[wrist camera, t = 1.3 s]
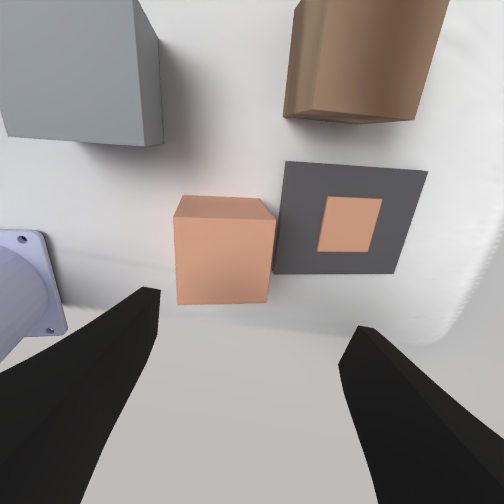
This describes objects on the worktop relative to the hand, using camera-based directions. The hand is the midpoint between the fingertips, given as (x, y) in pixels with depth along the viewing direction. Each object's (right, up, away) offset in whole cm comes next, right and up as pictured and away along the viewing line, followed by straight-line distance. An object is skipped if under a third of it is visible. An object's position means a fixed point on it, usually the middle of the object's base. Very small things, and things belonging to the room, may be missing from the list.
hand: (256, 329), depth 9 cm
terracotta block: (-2, +4, +9) cm, 10 cm away
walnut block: (+4, +13, +6) cm, 15 cm away
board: (+7, +5, +10) cm, 13 cm away
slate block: (-8, +12, +4) cm, 15 cm away
